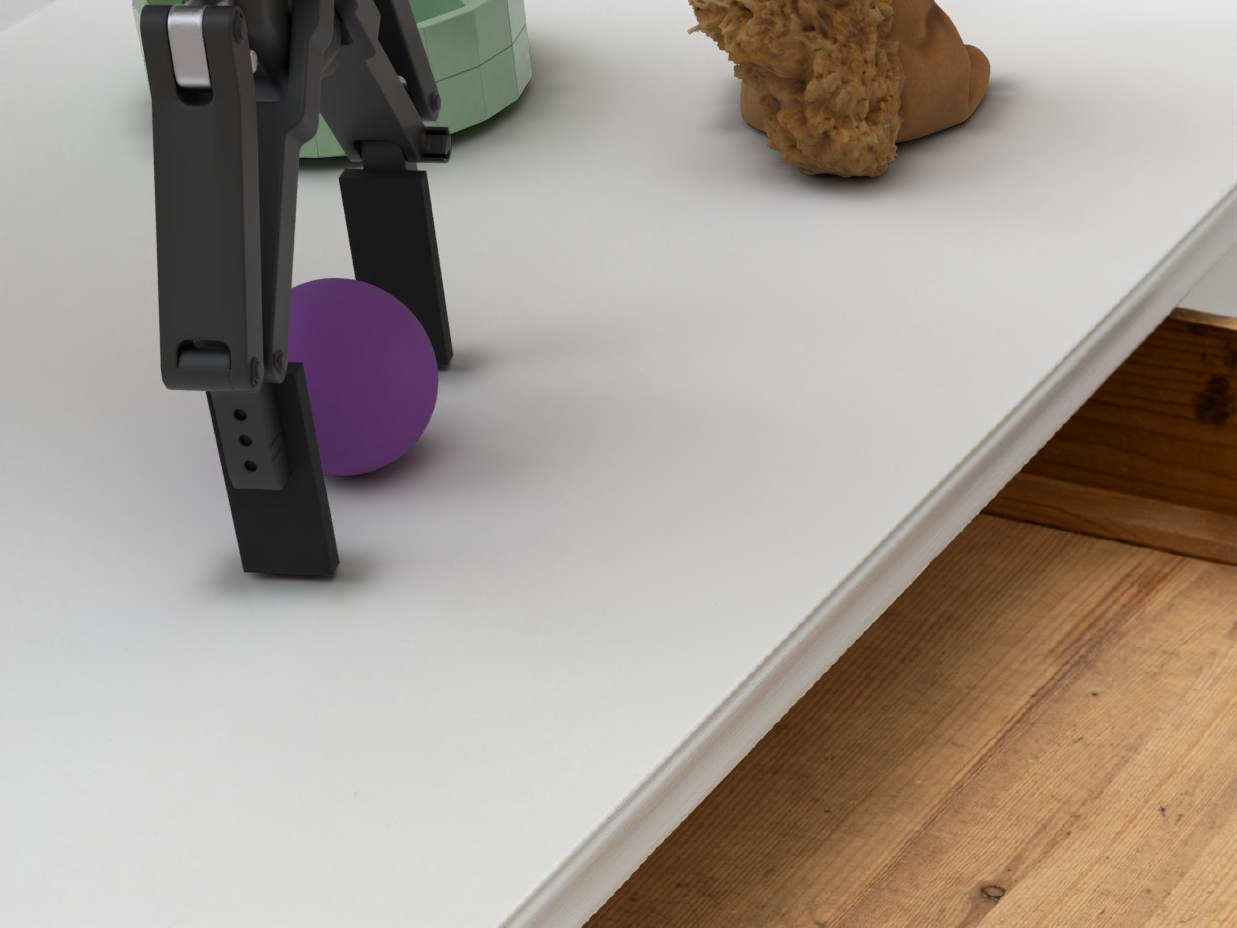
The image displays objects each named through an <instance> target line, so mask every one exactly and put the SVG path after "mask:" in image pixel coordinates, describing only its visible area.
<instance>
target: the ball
mask: <svg viewBox="0 0 1237 928" xmlns="http://www.w3.org/2000/svg"><path fill="white" fill-rule="evenodd" d="M287 358H288V362H303V366H304V372H305V377H306V383H307V388H308V393H309V399H310V404H311V410H312V415H313V420H314V426H315V431H316V437H317V442H318V448H319V453H320V458H321V464H322V469H323V475H328V476H329V475H330V476H338V477H339V476H342V477H343V476H344V477H346V476H347V477H348V476H357V475H364V474H367V473H371V472H375V471H378V470H379V469H382V468H384V467H386V466H388V465H390V464H392V463H394V462H396V461H397V460H399V459H400V458H401V457H403V455H405V454H406V453H407V452H409V451H410V450H411V449H412V448H413V446H414V445H416V443H417V442H418V441H419V439H420V438H421V436H422V435H423V434H424V432H425V430H426V429H427V427H428V425H429V424H430V421H431V419H432V415H433V413H434V411H435V408H436V404H437V399H438V394H439V393H438V392H439V381H440V380H439V370H438V369H439V368H438V365H437V362H436V358H435V353H434V350H433V347H432V345H431V342H430V340H429V338H428V335H427V334H426V332H425V330H424V328H423V326H422V325H421V323H420V322H419V321H418V319H417V318H416V317H415V316H414V314H413V313H412V312H411V311H410V310H409V309H408V308H407V307H406V306H405V305H404V304H403V303H402V302H400V301H399V300H398V299H396V298H395V297H394V296H392V295H391V294H389V293H388V292H386V291H384V290H382V289H380V288H378V287H376V286H374V285H371V284H368V283H365V282H362V281H358V280H355V278H354V279H353V278H345V277H324V278H318V279H313V280H309V281H307V282H303V283H300V284H297V285H295V286H293V287H292V289H291V306H290V323H289V340H288V357H287Z"/></svg>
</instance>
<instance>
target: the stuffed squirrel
mask: <svg viewBox="0 0 1237 928" xmlns="http://www.w3.org/2000/svg"><path fill="white" fill-rule="evenodd" d="M687 2H688V5H689V6H692V8H691V9H692V11H693V15H694V17H696V18H695V19H696V22H697V23H698V24H696V25H694V26H692V27H690V28H689V29H687V30H686V32H687V34H688V35H692V34H693V33H698V32H699V31H700V32H701V33H703V34H705V36H706V37H708V38H710V39H712V41H713V42H715V43H717V44H716V46H717V47H718V50H719V51H723V52H725V53H726V54H728V56H727V57H728V58H727V60H728V61H729V62H733V64H734V65H733V76H734V78H737V80H741V83H740V96H739V112H740V114H741V118H742V119H743V120H744V122H746V123H747V124H749V125H750V126H751V127H753V128H755V129H756V130H759V131H762V132H763V133H765V134H766V136H767V140H768V141H767V143H768V144H767V145H766V146H767V147H768V148H769V149H770V150H773V151H777V152H779V155H780V157H781V159H780V160H779V162H781V163H784V164H786V165H787V166H790V167H796V169H798V170H799V171H800V173H802V174H805V175H809V176H813V175H822V174H830V175H837V176H839V177H843V178H851V177H855V176H856V177H870V178H871V177H872V178H873V177H878V176H879V177H880V176H881V175H882V174H883V173H887V170H889V163H891V162H892V161H893V162H895V157H898V153H897V151H898V149H899V147H898V146H897V145H896V144H898V143H903V142H910V141H913V140H918V139H920V138H923V137H926V136H929V135H932V134H934V133H937V132H940V131H943V130H945V129H948V128H951V127H953V126H956V125H959V124H961V123H963V122H965V121H966V120H968V119H969V118H970V117H971V116H972V115H973V113H974V112H975V111H976V109H977V108H978V107H979V105H980V104H981V102H982V100H983V99H984V96H985V94H986V93H987V92H988V88H989V85H990V77H991V62H990V61H989V59H988V57H987V55H986V54H985V53H984V51H982V50H981V49H980V48H979V47H977V46H976V45H973V44H965V43H964V40H963V38H962V36H961V35H960V32H959V30H958V28H957V27H956V25H955V23H954V22H953V20H952V19H951V17H950V16H949V15H948V13H946V12H945V10H943V8H941V7H940V5H939V4H937V2H936V1H935V0H687Z"/></svg>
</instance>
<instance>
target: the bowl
mask: <svg viewBox="0 0 1237 928" xmlns="http://www.w3.org/2000/svg"><path fill="white" fill-rule="evenodd" d="M409 3H410V6H411V9H412V12H413V15H414V18H415V21H416V24H417V27H418V30H419V33H420V36H421V39H422V43H423V46H424V49H425V52H426V55H427V58H428V61H429V64H430V67H431V70H432V73H433V76H434V79H435V82H436V85H437V88H438V93H439V95H440V98H441V110H439V116H438V119H437V120H436V121H435V122H427V121H423V123H424V125H425V126H429V127H448V128H449V131H450V135H451V134H455V133H457V132H459V131H463V130H465V129H467V128H470V127H473V126H475V125H478V124H479V123H483V122H486V121H487V120H489V119H490V118H492V117H493V116H495V115H496V114H498V113H499V112H501V111H502V110H504V109H505V108H506V107H508V106H509V105H511V104H513V103H514V102H516V101H517V100H519V98H520V97H521V95H522V94H523V91H524V90H525V89H526V87H527V85H528V83H529V82H530V80H531V79H532V76H533V70H532V61H531V54H530V45H529V35H528V25H527V17H526V9H525V0H409ZM148 4H156V5H182V0H131V8H132V13H133V18H134V23H135V27H136V32H137V37H138V40H139V46H140V51H141V56H142V59H143V60H142V61H143V66H144V70H145V75H146V80H147V85H148V91H150V87H149V81H148V75H147V69H146V63H145V57H144V51H143V45H142V40H141V33H140V15H141V11H142V8H143V7H144V6H145V5H148ZM398 77H399V79H400V81H401V83H406V81H405V80H404V78H403V77H401V76H398ZM149 94H150V96H151V93H150V92H149ZM150 99H151V98H150ZM151 101H152V99H151ZM337 157H338V158H339V157H347V156H346V154H345V152H344V151H343V149H342V147H341V146H340V144H339V143H338V141H337V139H336V138H335V136H334V135H333V133H332V131H331V130H330V128H329V126H328V125H327V123H326V122H325V120H324V118H323V117H322V115H321V114H320V112H319V126H318V130H317V133H316V135H315V136H314V137H313V139H311V140H310V141H308V142H307V143H305V144H303V146H302V147H301V149H300V154H299V158H305V159H307V158H308V159H310V158H312V159H319V158H337Z"/></svg>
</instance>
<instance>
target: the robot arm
mask: <svg viewBox="0 0 1237 928" xmlns="http://www.w3.org/2000/svg"><path fill="white" fill-rule="evenodd" d="M140 33H141V40H142V45H143V51H144V57H145V63H146V69H147V75H148V80H147V82H148V81H149V85H148V88H149V87H150V90H149V94H150V93H151V95H150V99H152V100H151V123H152V125H151V126H152V153H153V154H152V155H153V175H154V177H153V179H154V181H153V183H154V184H153V185H154V211H155V213H154V214H155V242H156V243H155V245H156V271H157V272H156V273H157V299H158V300H157V301H158V325H159V326H158V331H159V334H158V335H159V358H160V359H159V360H160V361H159V362H160V365H159V367H160V374H161V375H160V376H161V381H162V383H163V385H164V387H165V388H166V389H167V390H169V391H184V392H185V391H187V392H188V391H189V392H191V391H192V392H193V391H194V392H205V395H206V400H207V401H206V402H207V405H208V406H207V407H208V410H209V415H210V419H211V425H212V429H213V434H214V439H215V443H216V447H217V452H218V456H219V462H220V467H221V471H222V476H223V481H224V486H225V491H226V495H227V500H228V504H229V509H230V513H231V514H230V515H231V519H232V523H233V528H234V533H235V538H236V542H237V547H238V552H239V556H240V560H241V566H242V570H243V573H250V574H251V573H252V574H275V575H276V574H277V575H299V576H301V575H303V576H323V577H326V576H327V577H328V576H330V577H333V576H334V574H335V572H336V570H337V569H338V567H339V566H340V562H341V561H340V556H339V551H338V545H337V539H336V534H335V529H334V523H333V518H332V513H331V507H330V502H329V497H328V492H327V491H328V490H327V487H326V485H327V484H326V481H325V474H324V473H323V469H322V464H321V458H320V453H319V448H318V442H317V437H316V431H315V426H314V420H313V415H312V410H311V404H310V399H309V393H308V388H307V383H306V377H305V372H304V366H303V362H288V358H287V357H288V340H289V323H290V306H291V289H292V288H293V287H292V286H293V273H294V272H293V270H294V268H293V267H294V254H295V235H296V222H297V221H296V218H297V205H298V188H299V170H300V169H299V168H300V157H299V154H300V149H301V147H302V146H303V144H305V143H307V142H308V141H310V140H311V139H313V137H314V136H315V135H316V133H317V130H318V126H319V112H320V114H321V115H322V117H323V118H324V120H325V122H326V123H327V125H328V126H329V128H330V130H331V131H332V133H333V135H334V136H335V138H336V139H337V141H338V143H339V144H340V146H341V147H342V149H343V151H344V152H345V154H346V156H345V157H347V159H348V160H349V161H350V162H362V163H361V164H362V168H344V170H343V171H342V173H340V175H339V177H338V184H339V190H340V196H341V201H342V202H341V203H342V209H343V214H344V220H345V226H346V233H347V238H348V244H349V249H350V250H349V251H350V256H351V262H352V267H353V274H354V280H358V281H362V282H365V283H368V284H371V285H374V286H376V287H378V288H380V289H382V290H384V291H386V292H388V293H389V294H391V295H392V296H394V297H395V298H396V299H398V300H399V301H400V302H402V303H403V304H404V305H405V306H406V307H407V308H408V309H409V310H410V311H411V312H412V313H413V314H414V316H415V317H416V318H417V319H418V321H419V322H420V323H421V325H422V326H423V328H424V330H425V332H426V334H427V335H428V338H429V340H430V342H431V345H432V347H433V350H434V353H435V358H436V362H437V366H449V364H450V363H451V362H452V361H451V360H452V359H453V357H454V348H453V344H452V336H451V329H450V322H449V316H448V308H447V302H446V294H445V287H444V282H443V274H442V268H441V260H440V254H439V247H438V240H437V233H436V226H435V219H434V213H433V205H432V199H431V192H430V184H429V179H428V177H429V176H428V171H427V170H421V169H419V168H418V164H448V163H449V162H450V160H451V155H452V137H451V134H450V131H449V128H448V127H429V126H425V125H424V123H423V121H427V122H435V121H436V120H437V119H438V116H439V110H441V98H440V95H439V93H438V88H437V85H436V82H435V79H434V76H433V73H432V70H431V67H430V64H429V61H428V58H427V55H426V52H425V49H424V46H423V43H422V39H421V36H420V33H419V30H418V27H417V24H416V21H415V18H414V15H413V12H412V9H411V6H410V3H409V0H182V5H156V4H148V5H145V6H144V7H143V8H142V11H141V15H140ZM398 76H401V77H403V78H404V80H405V81H406V83H401V81H400V79H399V77H398ZM418 169H419V170H418Z"/></svg>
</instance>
